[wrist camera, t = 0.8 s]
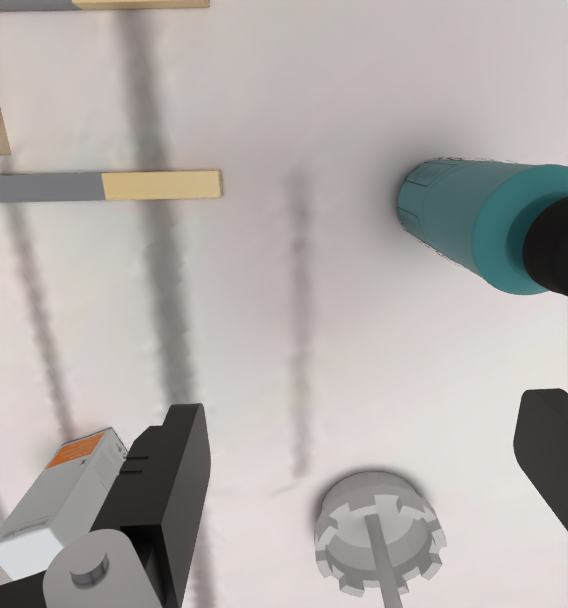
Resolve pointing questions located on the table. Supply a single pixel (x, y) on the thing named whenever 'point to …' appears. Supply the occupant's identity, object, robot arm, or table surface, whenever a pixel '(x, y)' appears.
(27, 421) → the table surface
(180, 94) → the table surface
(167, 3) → the rail bay
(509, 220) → the beverage bottle
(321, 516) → the flag stand
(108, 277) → the table surface
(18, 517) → the skincare box
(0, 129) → the wooden block
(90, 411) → the table surface
